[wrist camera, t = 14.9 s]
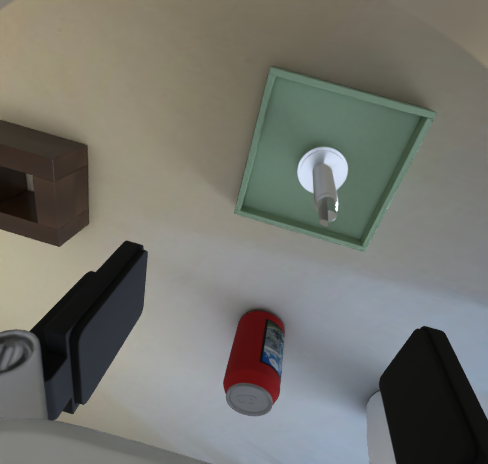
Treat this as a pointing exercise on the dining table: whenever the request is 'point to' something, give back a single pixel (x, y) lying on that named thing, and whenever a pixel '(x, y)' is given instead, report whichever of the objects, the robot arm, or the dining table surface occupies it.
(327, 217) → the screw
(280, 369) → the beverage can
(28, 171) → the holder
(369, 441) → the bottle
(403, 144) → the tray
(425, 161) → the dining table surface
